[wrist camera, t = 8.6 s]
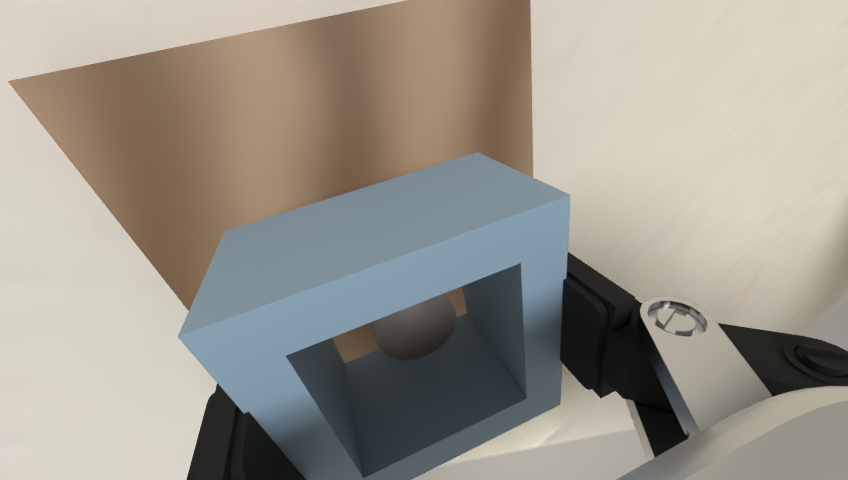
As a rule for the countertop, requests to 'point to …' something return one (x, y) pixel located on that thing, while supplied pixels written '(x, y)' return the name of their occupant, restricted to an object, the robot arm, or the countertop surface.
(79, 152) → the post board
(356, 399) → the slate ring
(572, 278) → the robot arm
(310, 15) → the countertop surface
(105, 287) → the countertop surface
